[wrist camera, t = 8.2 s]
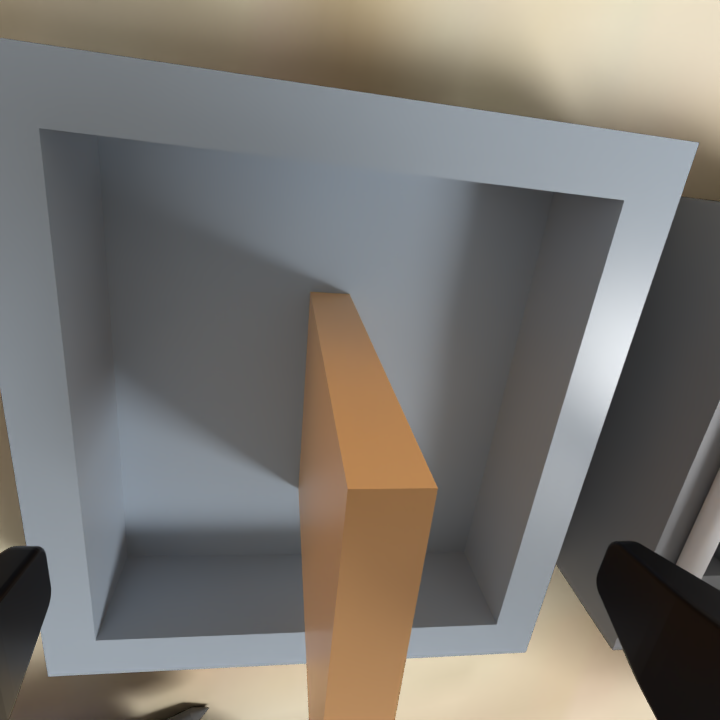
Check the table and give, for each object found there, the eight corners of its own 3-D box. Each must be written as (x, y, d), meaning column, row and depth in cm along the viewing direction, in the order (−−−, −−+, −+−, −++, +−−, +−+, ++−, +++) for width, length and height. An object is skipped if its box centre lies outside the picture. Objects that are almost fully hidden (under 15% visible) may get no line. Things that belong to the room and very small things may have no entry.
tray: (603, 143, 13) (699, 142, 10) (485, 569, 18) (525, 652, 15) (36, 62, 10) (-60, 28, 7) (92, 577, 16) (48, 676, 13)
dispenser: (800, 211, 14) (1017, 239, 10) (656, 545, 19) (765, 661, 14) (642, 191, 13) (809, 212, 9) (531, 547, 18) (608, 671, 14)
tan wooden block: (349, 293, 13) (438, 488, 6) (331, 488, 15) (378, 808, 8) (310, 291, 13) (347, 488, 5) (298, 488, 15) (313, 815, 8)
